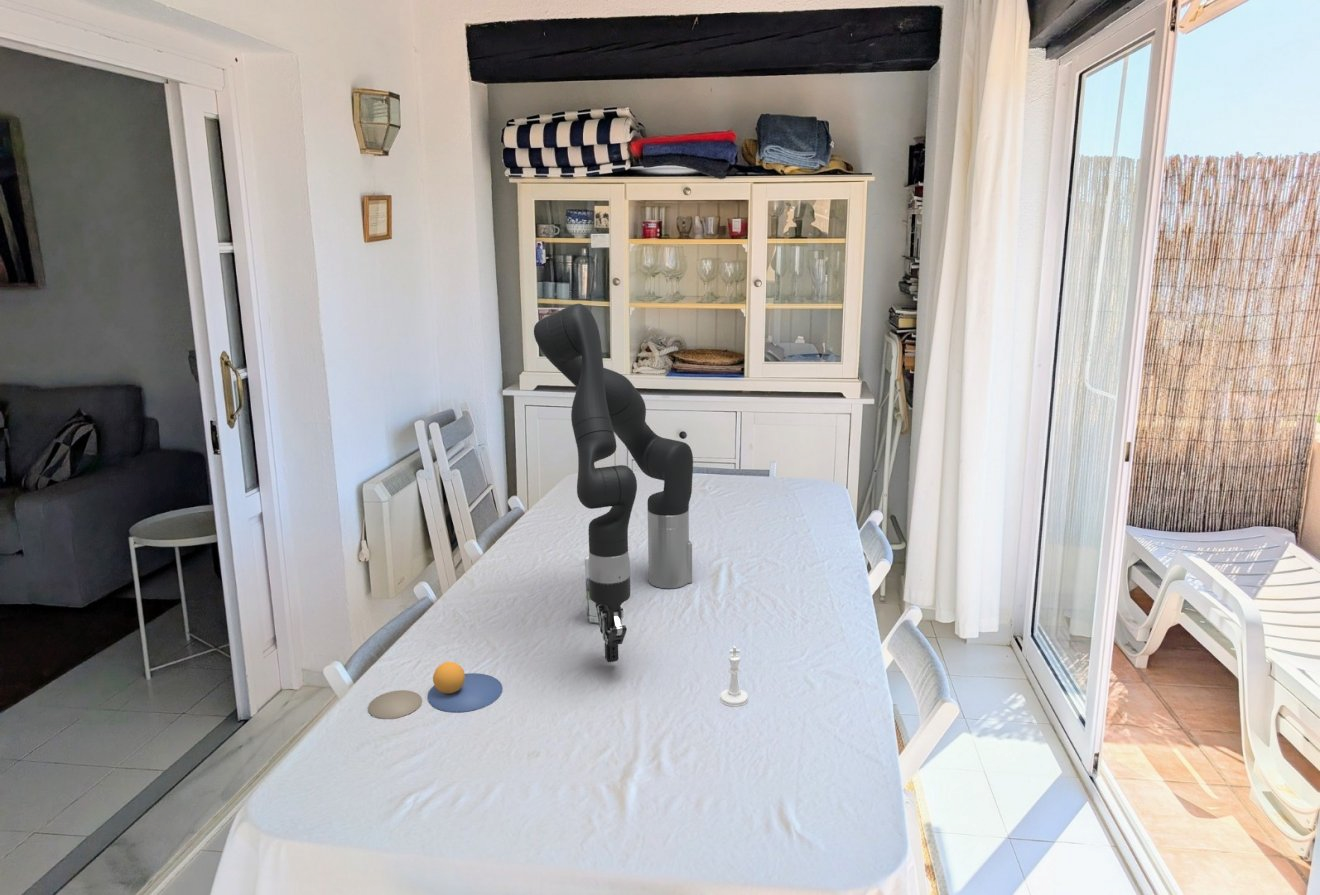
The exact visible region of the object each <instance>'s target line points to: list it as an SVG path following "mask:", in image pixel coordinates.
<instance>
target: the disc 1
mask: <svg viewBox="0 0 1320 895" xmlns="http://www.w3.org/2000/svg"><path fill="white" fill-rule="evenodd" d="M422 703H423V698H422V696H421V695H420V694H419V693H417V692H415V691H412V690H407V689H405V690H403V689H401V690H392V691H389V692H388V691H387V692H384V693H382V694H380V695H378V696H376V697H375V698H373V699H372V700H371V701H370V702H369V703H368V706H367V711H368V713H369V715H371V716H372V717H374V718H377V719H381V720H382V719H383V720H393V719H395V720H396V719H399V718H400V719H401V718H403V717H404V718H405V717H406V716H408V715H411V714H412V713H414V712H416V711H417V710H419V708H420V707H421V705H422Z"/></svg>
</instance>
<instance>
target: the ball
mask: <svg viewBox="0 0 1320 895" xmlns="http://www.w3.org/2000/svg"><path fill="white" fill-rule="evenodd" d="M465 674H466V673H465V671H464V668H463V667H462V666H461V665H460V664H458V663H457V662H454V661H445V662H443V663H441V664H439V665H438V666H437V667H436V668H435V670H434V671H433V676H432V682H433V686H434V685H435V687H436V688H437V689H438V690H439V691H440V692H442V693H445V694H451V693H454V692H456V691H458V690H459V689H460V688H461V687H462V685H463V683H464V680H465Z"/></svg>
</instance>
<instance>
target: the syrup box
mask: <svg viewBox="0 0 1320 895" xmlns="http://www.w3.org/2000/svg"><path fill="white" fill-rule="evenodd" d="M588 559H589V553H588V554H587V556H586V557H585V558H584V568H585V569H584V572H585V595H586V597H585V598H586V600H585V601H586V620H587V623H590V624H596V625H599V620H598V615H597V609H596V606H595V604H596V603H595V602H593V601H592V600H591V599H590V597H589V572H588ZM620 607H621V608H622V605H621V606H620Z"/></svg>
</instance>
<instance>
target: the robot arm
mask: <svg viewBox="0 0 1320 895" xmlns="http://www.w3.org/2000/svg"><path fill="white" fill-rule="evenodd" d="M533 327H534V328H533V337H534V340H535V342H536V344H537V345H538V348H539V349H540V351H541V352H542V354H543V355H544V356H545V357H546V359H547V360H548V361H549V362H550V363H551V364H552V365H553V366H554V367H555V368H556V369H557V371H559V372H560V373H562V375H563V376H565V378H566V379H568V381H570V382H571V383H572V384H573V385H574V387H576V391H575V394H574V397H573V401H572V406H571V411H570V412H571V413H570V415H571V416H570V418H571V427H572V431H573V435H574V440H575V444H576V448H577V457H578V461H577V462H578V463H577V465H578V467H577V468H578V469H577V481H576V494H577V497H578V500H579V502H580V503H581V504H582V505H583V507H585V508H586V509H591V510H592V509H602V508H608V507H610V509H609V511H608V512H606V513H604V514H602V515H600V516H597V517H595V518H594V519H592V520H591V521H590V522H589V523H588V554H589V559H588V572H589V597H590V599H591V600H592V601H593V602H595V603H596V604H595V606H596V609H597V615H598V620H599V624H598V625H599V632H600V633H601V634H602V640H603V641H604V658H605V659H606V660H605V661H606V662H607V663H613V662H614V663H615V662H618V661H619V660H620V659H619V645H622V644H623V642H624V639H625V636H626V634H627V631H628V630H627V629H628V628H627V626H626V625H623V619H624V609H623V608H622V604H623V603H624V602H627V601H628V600H629V599H630V597H631V561H630V555H629V553H630V552H629V539H628V538H629V537H628V536H629V535H628V533H629V531H628V530H629V524H630V519H631V514H632V510H633V507H634V504H635V500H636V495H637V490H638V482H637V477H636V474H635V472H634V471H633V469H631V468H630V467H629V466H627V465H623V464H621V465H620V464H619V465H612V466H605V467H604V466H603V467H595V463H596V462H599V461H601V460H604V459H606V458H609V457H611V456H612V455H613V454H614V453H616V451H617V440H616V436H617V438H618V439H619V441H621V442H622V444H624V446H625V447H626V449H627V451H628V452H629V453H630V455H631V457H632V458H633V460H634V462H635V463H636V465H637V467H638V468H639V469H640V470H641V472H642V473H643V474H644V475H646V476H647V477H650V478H652V479H655V480H660V481H663V490H662V491H658V492H655V493H652V494H651V495H649V497H648V498H647V504H646V505H647V552H648V553H647V554H648V555H647V556H648V557H647V560H648V563H647V564H648V572H647V573H648V582H649V584H650V585H652V586H654V587H656V588H660V589H677V588H682V587H684V586H686V585H688V584H691V583H693V543H692V542H691V541H690V510H689V509H690V502H691V501H690V500H691V498H692V493H693V492H692V491H693V474H694V473H693V472H694V457H693V452H692V449H691V446H690V445H689V444H688V443H687V442H684V441H680V440H676V439H671V438H665V437H662V436H659V435H657V434H656V433H655V431H653V430H652V429H651V427H650V426H649V425H648V424H647V422H646V416H647V414H646V413H647V408H646V402H645V400H644V398H643V397H642V395H641V394H640V392H639V391H638V390H637V389H636V387H635V386H634V385H633V383H632V382H631V381H630V379H629V378H627V377H626V376H625V375H623V374H621V373H619V372H617V371H614V370H612V369H609V368H606V367H604V359H603V352H602V351H603V349H602V342H601V341H602V340H601V334H600V330H599V327H598V322H597V321H596V318H595V317H594V315H593V313H592V312H591V311H590V309H589V307H587V306H586V305H584V304H582V303H575V304H572V305H570V306H567V307H565V308H563V309H560V310H557V311H556V312H554V313H551V314H549V315H547V316H545V317H543V318H541V319H539V320H538V321H537V322H536V323H535V325H534V326H533ZM620 606H621V607H620Z"/></svg>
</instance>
